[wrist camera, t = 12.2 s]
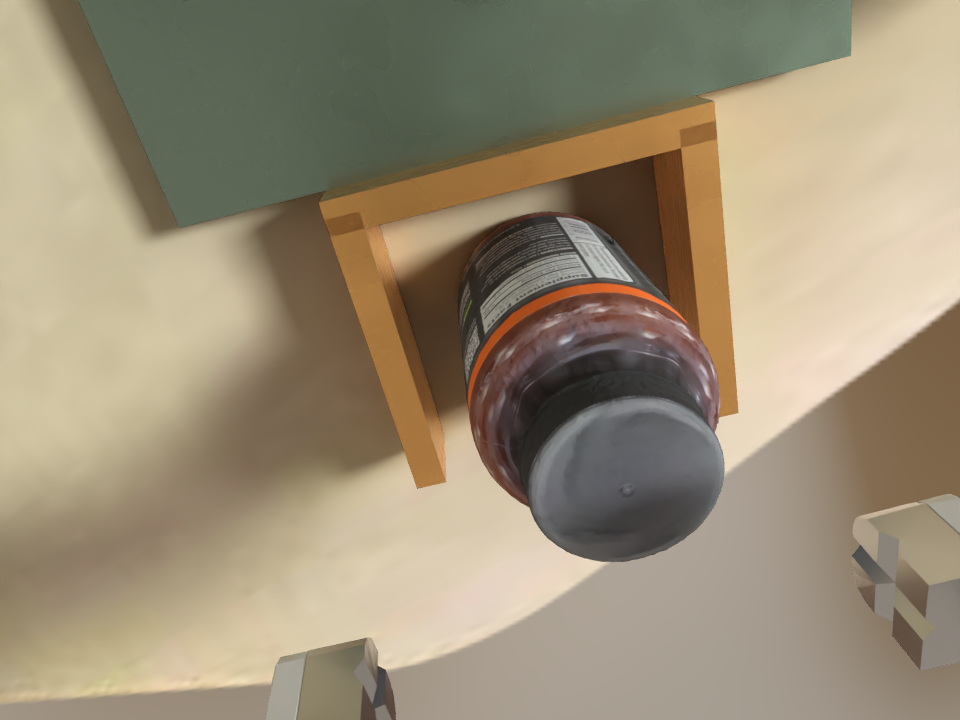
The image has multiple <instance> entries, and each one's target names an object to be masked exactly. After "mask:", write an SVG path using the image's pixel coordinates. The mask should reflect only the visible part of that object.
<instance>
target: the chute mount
mask: <svg viewBox="0 0 960 720" xmlns="http://www.w3.org/2000/svg"><path fill="white" fill-rule="evenodd" d="M78 2H79V4H80V6H81V8H82V11H83V13H84V15H85V17H86V20H87V22H88V24H89V26H90V29H91V31H92V33H93V35H94V38H95V40H96V42H97V44H98V47H99V49H100V51H101V53H102V56H103V58H104V60H105V62H106V65H107V67H108V69H109V71H110V73H111V76H112V78H113V80H114V82H115V85H116V87H117V89H118V91H119V94H120V96H121V98H122V100H123V103H124V105H125V107H126V109H127V112H128V114H129V116H130V118H131V121H132V123H133V125H134V127H135V130H136V132H137V134H138V136H139V138H140V141H141V143H142V145H143V147H144V150H145V152H146V154H147V156H148V159H149V161H150V163H151V165H152V168H153V170H154V172H155V174H156V177H157V179H158V181H159V183H160V186H161V188H162V190H163V192H164V195H165V197H166V199H167V201H168V204H169V206H170V208H171V210H172V212H173V215H174V217H175V219H176V221H177V224H178V226H179V228H182V227H186V226H190V225H194V224H198V223H202V222H206V221H210V220H213V219H217V218H221V217H225V216H229V215H233V214H237V213H241V212H245V211H248V210H252V209H256V208H260V207H264V206H268V205H272V204H276V203H280V202H283V201H287V200H291V199H295V198H299V197H303V196H307V195H311V194H315V193H318V192H322V191H325V193H324V194H323V196H322V198H321V199H320V201H319V206H320V209H321V212H322V215H323V218H324V220H325V223H326V226H327V229H328V232H329V235H330V238H331V241H332V244H333V246H334V249H335V252H336V255H337V258H338V261H339V264H340V267H341V270H342V272H343V275H344V278H345V281H346V284H347V287H348V290H349V293H350V296H351V298H352V301H353V304H354V307H355V310H356V313H357V316H358V319H359V322H360V324H361V327H362V330H363V333H364V336H365V339H366V342H367V345H368V348H369V350H370V353H371V356H372V359H373V362H374V365H375V368H376V371H377V374H378V376H379V379H380V382H381V385H382V388H383V391H384V394H385V397H386V400H387V402H388V405H389V408H390V411H391V414H392V417H393V420H394V423H395V426H396V428H397V431H398V434H399V437H400V440H401V443H402V446H403V449H404V452H405V455H406V457H407V460H408V463H409V466H410V469H411V472H412V475H413V478H414V481H415V483H416V486H417V489H418V488H423V487H427V486H431V485H435V484H440V483H444V482H446V469H445V444H444V432H443V429H442V426H441V423H440V419H439V416H438V413H437V410H436V407H435V403H434V400H433V397H432V394H431V390H430V387H429V384H428V381H427V377H426V374H425V371H424V368H423V365H422V361H421V358H420V355H419V352H418V348H417V345H416V342H415V339H414V336H413V332H412V329H411V326H410V323H409V319H408V316H407V313H406V310H405V307H404V303H403V300H402V297H401V294H400V290H399V287H398V284H397V281H396V278H395V274H394V271H393V268H392V265H391V261H390V258H389V255H388V252H387V249H386V245H385V242H384V239H383V236H382V232H381V229H380V226H379V225H381V224H385V223H389V222H393V221H396V220H400V219H404V218H408V217H412V216H416V215H420V214H424V213H428V212H432V211H436V210H440V209H444V208H448V207H452V206H456V205H459V204H463V203H467V202H471V201H475V200H479V199H483V198H487V197H491V196H495V195H499V194H503V193H507V192H511V191H515V190H519V189H522V188H526V187H530V186H534V185H538V184H542V183H546V182H550V181H554V180H558V179H562V178H566V177H570V176H574V175H578V174H581V173H585V172H589V171H593V170H597V169H601V168H605V167H609V166H613V165H617V164H621V163H625V162H629V161H633V160H637V159H641V158H644V157H648V156H653V164H654V172H655V181H656V189H657V197H658V206H659V214H660V222H661V231H662V239H663V247H664V256H665V264H666V272H667V281H668V289H669V297H670V303H671V304H672V305H673V306H674V307H675V308H676V310H677V311H678V313H679V314H680V315H681V316H682V317H683V318H684V320H685V321H686V322H687V323H688V324H689V325H690V327H691V328H692V329H693V330H694V331H695V332H696V334H697V335H698V336H699V338H700V339H701V340H702V341H703V343H704V345H705V346H706V348H707V349H708V352H709V354H710V356H711V358H712V361H713V363H714V366H715V369H716V372H717V376H718V383H719V393H720V400H721V401H720V410H719V417H723V416H727V415H731V414H736V413H738V402H737V389H736V376H735V363H734V350H733V337H732V324H731V311H730V298H729V285H728V272H727V259H726V247H725V234H724V221H723V208H722V195H721V182H720V169H719V156H718V143H717V130H716V117H715V104H714V101H712V100H708V99H705V98H701V97H697V96H696V95H700V94H704V93H707V92H711V91H715V90H719V89H723V88H727V87H731V86H735V85H739V84H742V83H746V82H750V81H754V80H758V79H762V78H766V77H770V76H774V75H777V74H781V73H785V72H789V71H793V70H797V69H801V68H805V67H809V66H812V65H816V64H820V63H824V62H828V61H832V60H836V59H840V58H844V57H847V56H851V0H78Z"/></svg>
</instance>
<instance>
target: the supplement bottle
mask: <svg viewBox="0 0 960 720" xmlns="http://www.w3.org/2000/svg"><path fill="white" fill-rule="evenodd" d="M458 319H459V326H460V336H461V345H462V357H463V366H464V376H465V385H466V394H467V396H466V398H467V403H468V410H469V417H470V424H471V430H472V434H473V438H474V442H475V445H476V447H477V450H478V452H479V455H480V457H481V459H482V462H483V463H484V465H485V467H486V468H487V470H488V472H489V473H490V475H491V476H492V477H493V478H494V480H495V481H496V482H497V483H498V484H499V485H500V486H501V487H502V488H503V489H504V490H505V491H506V492H508V493H509V494H510V495H511V496H512V497H514V498H515V499H516V500H518V501H519V502H520V503H522V504H524V505H526V506H527V507H530V510H531V513H532V515H533V518H534V520H535V522H536V523H537V525H538V527H539V528H540V530H541V531H542V532H543V533H544V535H545V536H546V537H547V538H548V539H549V540H551V541H552V542H554V543H555V544H556V545H557V546H559V547H561V548H562V549H564V550H565V551H567V552H569V553H571V554H574V555H577V556H579V557H582V558H586V559H591V560H596V561H602V562H625V561H630V560H635V559H639V558H644V557H647V556H649V555H654V554H656V553H658V552H660V551H664V550H667V549H668V548H670V547H672V546H674V545H675V544H677V543H679V542H680V541H682V540H684V539H685V538H686V537H687V536H688V535H690V534H691V533H693V532H694V531H695V530H696V529H697V528H698V527H699V526H700V525H701V524H702V523H703V521H704V520H705V519H706V518H707V516H708V515H709V513H710V512H711V510H712V509H713V508H714V506H715V504H716V501H717V499H718V497H719V494H720V492H721V488H722V485H723V479H724V458H723V452H722V449H721V446H720V443H719V441H718V438H717V436H716V435H715V430H716V427H717V424H718V422H719V421H718V418H719V410H720V401H721V400H720V393H719V383H718V376H717V372H716V369H715V366H714V363H713V361H712V358H711V356H710V354H709V352H708V349H707V348H706V346H705V345H704V343H703V341H702V340H701V339H700V338H699V336H698V335H697V334H696V332H695V331H694V330H693V329H692V328H691V327H690V325H689V324H688V323H687V322H686V321H685V320H684V318H683V317H682V316H681V315H680V314H679V313H678V311H677V310H676V308H675V307H674V306H673V305H672V304H671V303H670V302H669V301H668V299H667V298H666V297H665V296H664V295H663V294H662V293H661V292H660V291H659V290H658V289H657V288H656V286H655V285H654V284H653V283H652V281H651V280H650V279H649V278H648V277H647V276H646V275H645V274H644V273H643V272H642V271H641V270H640V268H639V267H638V266H637V265H636V264H635V263H634V261H633V260H632V259H631V258H630V257H629V256H628V255H627V254H626V252H625V251H624V250H623V249H622V248H621V247H620V245H619V244H618V243H617V242H616V241H615V240H614V238H613V237H611V236H609V235H608V234H607V233H606V232H605V231H603V230H602V229H601V228H599V227H598V226H597V225H595V224H593V223H591V222H589V221H588V220H586V219H583V218H580V217H578V216H574V215H570V214H566V213H560V212H539V213H532V214H527V215H524V216H521V217H518V218H515V219H513V220H511V221H509V222H507V223H505V224H503V225H501V226H499V227H498V228H497V229H495V230H494V231H493V232H491V233H490V234H489V235H488V236H487V237H486V238H485V239H483V240H482V241H481V243H480V244H479V245H478V246H477V247H476V249H475V250H474V251H473V253H472V255H471V257H470V259H469V261H468V262H467V264H466V266H465V269H464V271H463V273H462V278H461V281H460V286H459V297H458Z"/></svg>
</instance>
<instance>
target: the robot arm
mask: <svg viewBox="0 0 960 720" xmlns="http://www.w3.org/2000/svg"><path fill="white" fill-rule="evenodd" d="M853 536H854V538H855V539H856V540H857V541H858V542H859V543H860V546H859V548H858V549H857V550H856V552H855V553H854V554H853V555H852V572H853V575H854V578H855V581H856V585H857V588H858V589H859V591H860V593H861V595H862V597H863V599H864V600H865V602H866V603H867V604H868V606H869V607H870V608H871V609H872V611H873V612H874V613H875V614H877V615H879V616H881V617H883V618H885V619H887V620H890V621H892V622H893V629H892V636H893V637H894V639H895V640H896V641H897V642H898V643H899V645H900V646H901V647H902V649H903V650H904V651H905V652H906V653H907V655H908V656H909V657H910V658H911V660H912V661H913V662H914V663H915V665H916V666H917V667H918V668H919V670H925V669H929V668H934V667H939V666H944V665H948V664H953V663H958V662H960V499H959V498H958V497H956V496H954V495H951V494H946V495H942V496H938V497H934V498H930V499H926V500H922V501H918V502H917V503H910V504H906V505H902V506H898V507H894V508H890V509H887V510H883V511H879V512H875V513H871V514H867V515H863V516H859V517H857V518H856V520H855V522H854V523H853ZM265 720H396V710H395V702H394V694H393V690H392V687H391V683H390V680H389V677H388V675H387V672H386V670H385V669H383V668H381V667H379V666H378V651H377V649H376V647H375V645H374V642H373V640H372V638H364V639H359V640H355V641H350V642H345V643H341V644H336V645H332V646H327V647H322V648H318V649H313V650H310V651H307V652H302V653H298V654H293V655H288V656H284V657H280V659H279V661H278V663H277V664H276V666H275V670H274V675H273V680H272V685H271V690H270V695H269V700H268V705H267V710H266V715H265Z"/></svg>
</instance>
